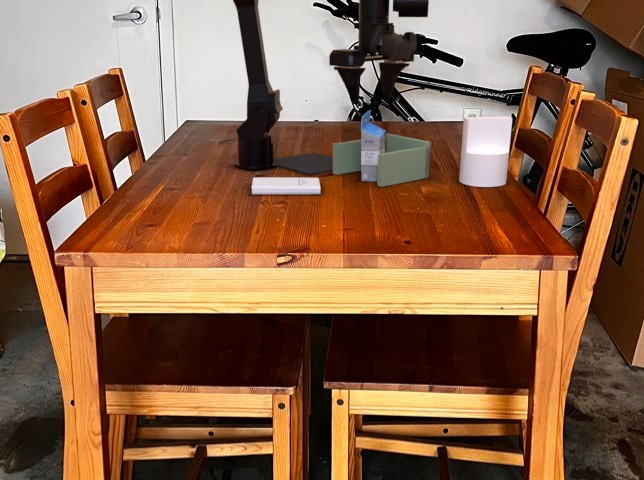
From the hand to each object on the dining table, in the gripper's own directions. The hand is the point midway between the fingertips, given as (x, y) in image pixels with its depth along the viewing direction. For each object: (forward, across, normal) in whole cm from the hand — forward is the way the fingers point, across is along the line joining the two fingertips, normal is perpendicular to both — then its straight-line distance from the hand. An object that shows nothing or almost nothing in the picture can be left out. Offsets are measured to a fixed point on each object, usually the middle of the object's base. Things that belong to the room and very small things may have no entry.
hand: (371, 102), depth 161 cm
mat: (+13, -5, +12) cm, 19 cm away
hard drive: (+14, -24, -1) cm, 28 cm away
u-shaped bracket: (+13, -2, -5) cm, 15 cm away
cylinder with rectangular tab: (+14, +8, -22) cm, 27 cm away
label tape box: (+14, -4, -5) cm, 15 cm away
